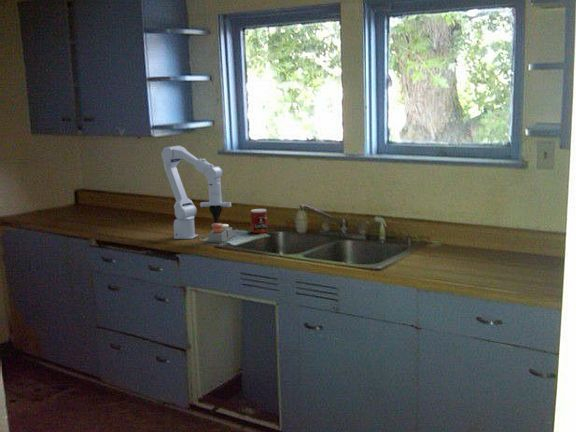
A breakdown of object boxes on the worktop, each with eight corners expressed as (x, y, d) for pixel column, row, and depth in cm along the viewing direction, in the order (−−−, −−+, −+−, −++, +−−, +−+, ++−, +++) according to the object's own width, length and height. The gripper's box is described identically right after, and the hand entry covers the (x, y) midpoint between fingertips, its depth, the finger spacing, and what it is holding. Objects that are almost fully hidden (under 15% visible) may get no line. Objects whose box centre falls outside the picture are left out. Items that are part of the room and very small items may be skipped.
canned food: (253, 234, 323) (252, 211, 321) (250, 231, 330) (249, 209, 328) (269, 233, 325) (268, 210, 323) (265, 230, 332) (264, 208, 330)
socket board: (204, 242, 310) (204, 233, 309) (216, 234, 325) (216, 227, 324) (225, 242, 307) (224, 234, 307) (236, 235, 323) (235, 227, 322)
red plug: (210, 234, 310) (209, 225, 309) (214, 232, 315) (213, 223, 314) (220, 234, 309) (220, 225, 308) (224, 232, 314) (223, 223, 313)
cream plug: (217, 235, 319) (216, 226, 318) (220, 232, 323) (220, 224, 323) (227, 235, 317) (226, 226, 317) (230, 233, 322) (230, 224, 321)
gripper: (232, 191, 310) (234, 220, 313) (203, 191, 314) (205, 220, 317) (227, 194, 304) (229, 223, 306) (197, 194, 307) (199, 223, 310)
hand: (216, 222), depth 311 cm, fingers closed
